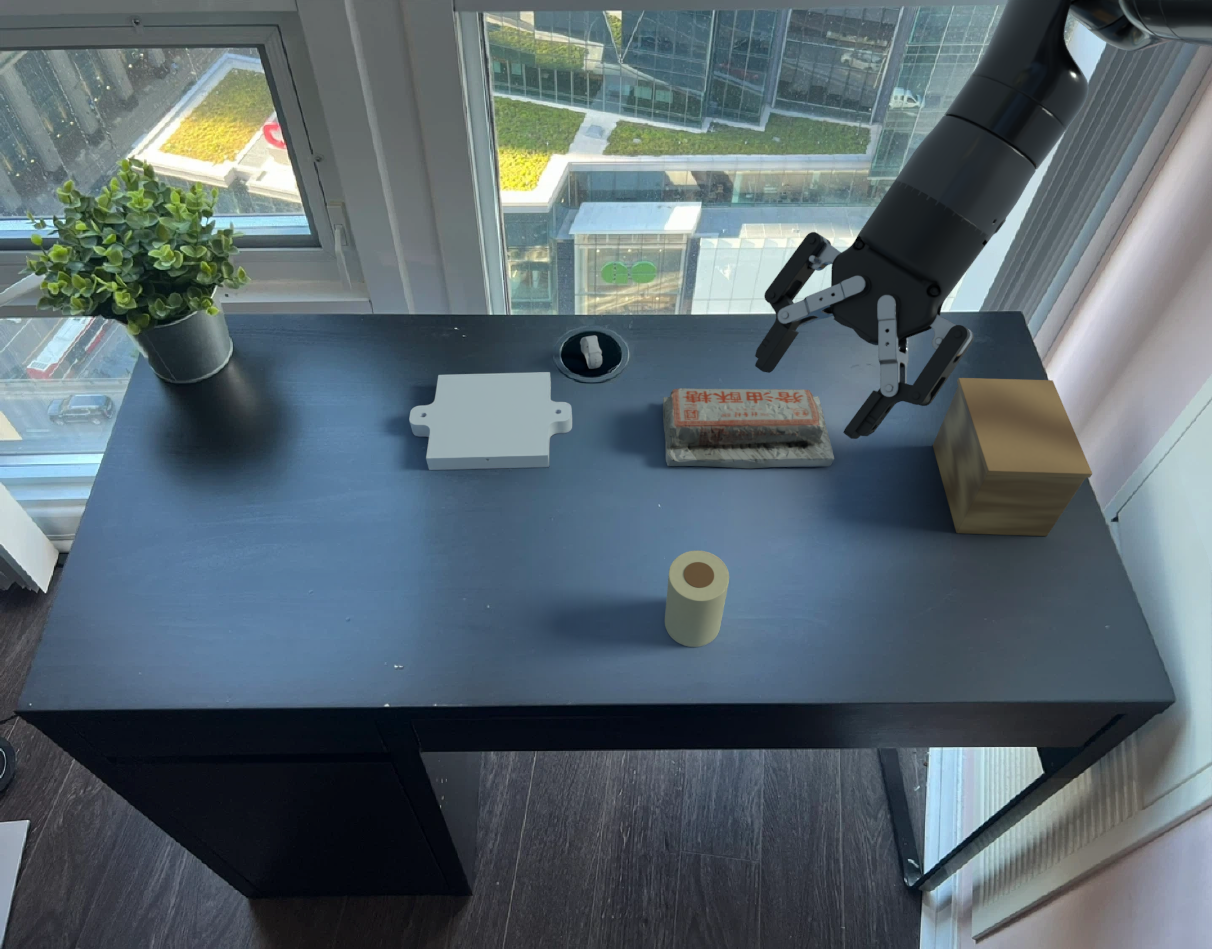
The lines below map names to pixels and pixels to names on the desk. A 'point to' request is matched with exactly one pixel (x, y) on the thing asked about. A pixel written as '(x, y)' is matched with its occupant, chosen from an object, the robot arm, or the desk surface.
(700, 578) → the toilet paper roll
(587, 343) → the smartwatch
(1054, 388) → the oak box
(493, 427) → the mounting plate
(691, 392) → the packaged product
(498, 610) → the desk surface
